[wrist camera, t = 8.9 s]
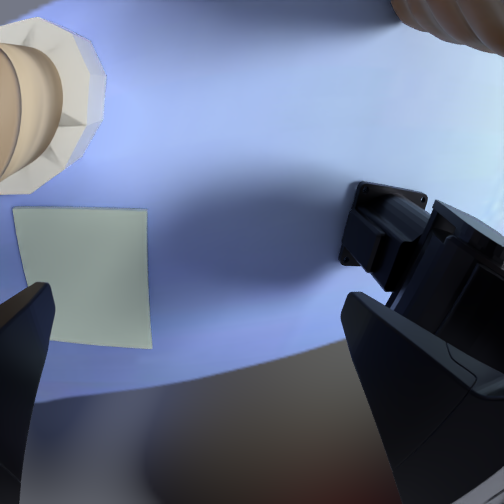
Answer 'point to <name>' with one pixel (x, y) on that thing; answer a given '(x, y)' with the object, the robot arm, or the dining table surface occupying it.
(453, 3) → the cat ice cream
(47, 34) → the bowl
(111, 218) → the mat
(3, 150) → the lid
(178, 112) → the dining table surface
